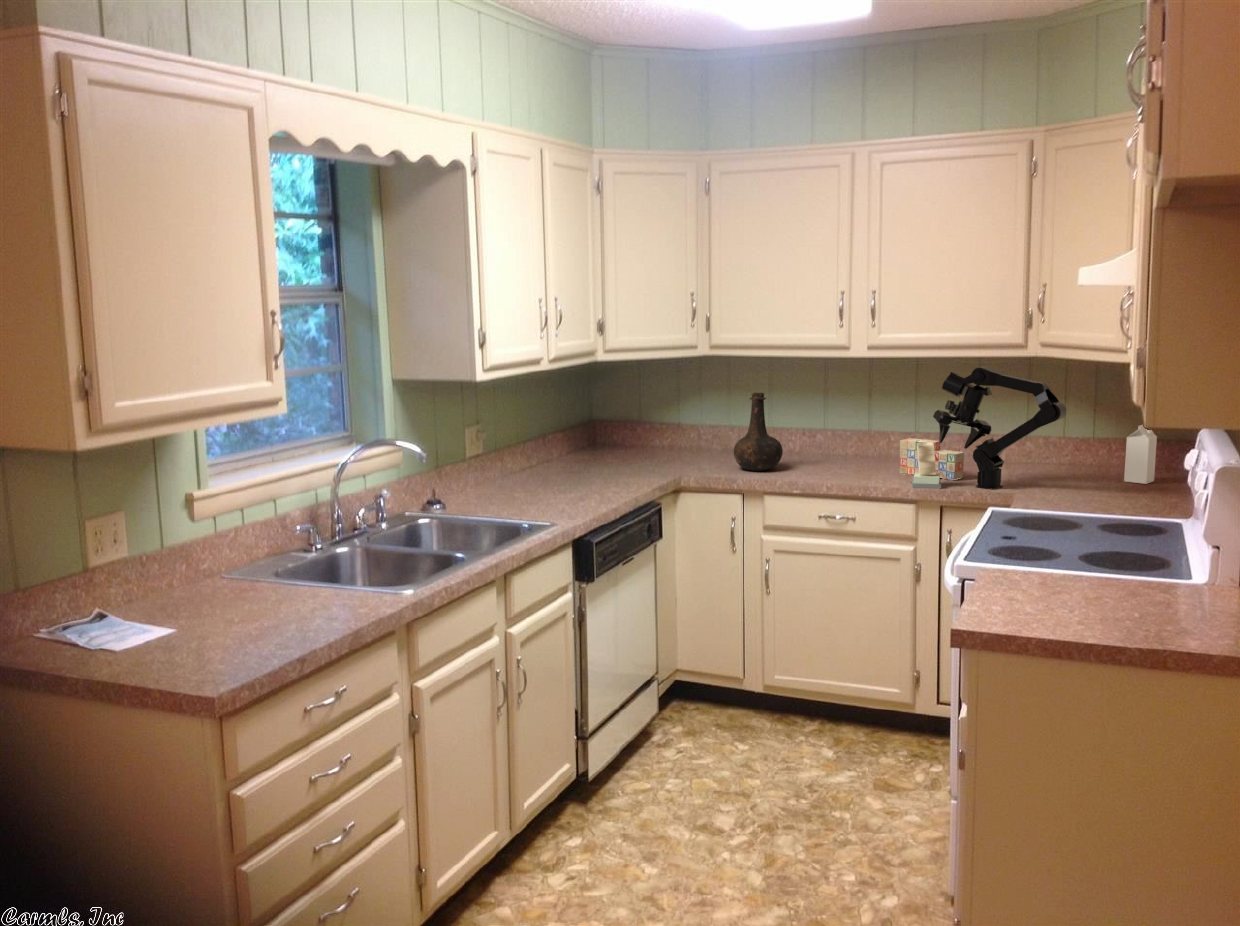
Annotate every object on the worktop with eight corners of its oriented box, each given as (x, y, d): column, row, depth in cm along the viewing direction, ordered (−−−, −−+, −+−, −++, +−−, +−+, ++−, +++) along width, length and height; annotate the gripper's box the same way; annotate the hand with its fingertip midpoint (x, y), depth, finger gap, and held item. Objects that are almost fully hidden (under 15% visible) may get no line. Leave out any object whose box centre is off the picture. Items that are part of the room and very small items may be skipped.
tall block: (934, 472, 358) (932, 442, 356) (935, 474, 353) (934, 444, 351) (918, 473, 359) (917, 443, 357) (920, 476, 354) (918, 445, 352)
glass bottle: (760, 475, 381) (760, 396, 376) (723, 469, 394) (723, 393, 389) (792, 469, 392) (793, 392, 388) (756, 463, 406) (756, 389, 401)
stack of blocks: (963, 478, 368) (964, 443, 366) (954, 481, 364) (955, 445, 362) (908, 471, 384) (909, 437, 382) (898, 474, 379) (899, 439, 377)
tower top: (939, 479, 359) (940, 473, 358) (938, 484, 351) (939, 477, 351) (914, 478, 361) (915, 472, 361) (913, 483, 354) (913, 476, 353)
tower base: (939, 485, 360) (939, 479, 360) (941, 490, 351) (941, 484, 351) (911, 485, 362) (911, 478, 362) (912, 490, 353) (912, 483, 353)
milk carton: (1123, 481, 357) (1127, 425, 354) (1131, 478, 362) (1135, 422, 359) (1146, 484, 352) (1150, 426, 349) (1154, 481, 357) (1157, 424, 354)
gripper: (986, 400, 361) (968, 441, 367) (936, 387, 358) (918, 430, 364) (1000, 412, 351) (981, 455, 357) (948, 400, 348) (930, 443, 354)
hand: (952, 445), depth 358 cm, fingers open, 9 cm apart
